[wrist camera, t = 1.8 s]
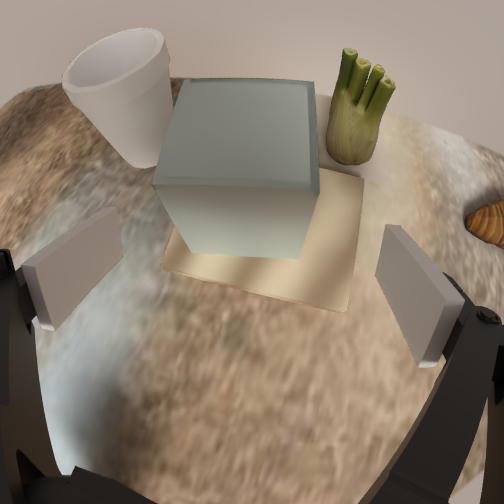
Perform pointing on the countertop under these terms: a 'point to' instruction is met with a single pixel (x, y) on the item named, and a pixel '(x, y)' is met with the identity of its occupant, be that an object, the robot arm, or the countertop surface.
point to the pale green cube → (241, 166)
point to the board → (289, 270)
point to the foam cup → (125, 92)
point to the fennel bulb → (356, 109)
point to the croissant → (488, 223)
